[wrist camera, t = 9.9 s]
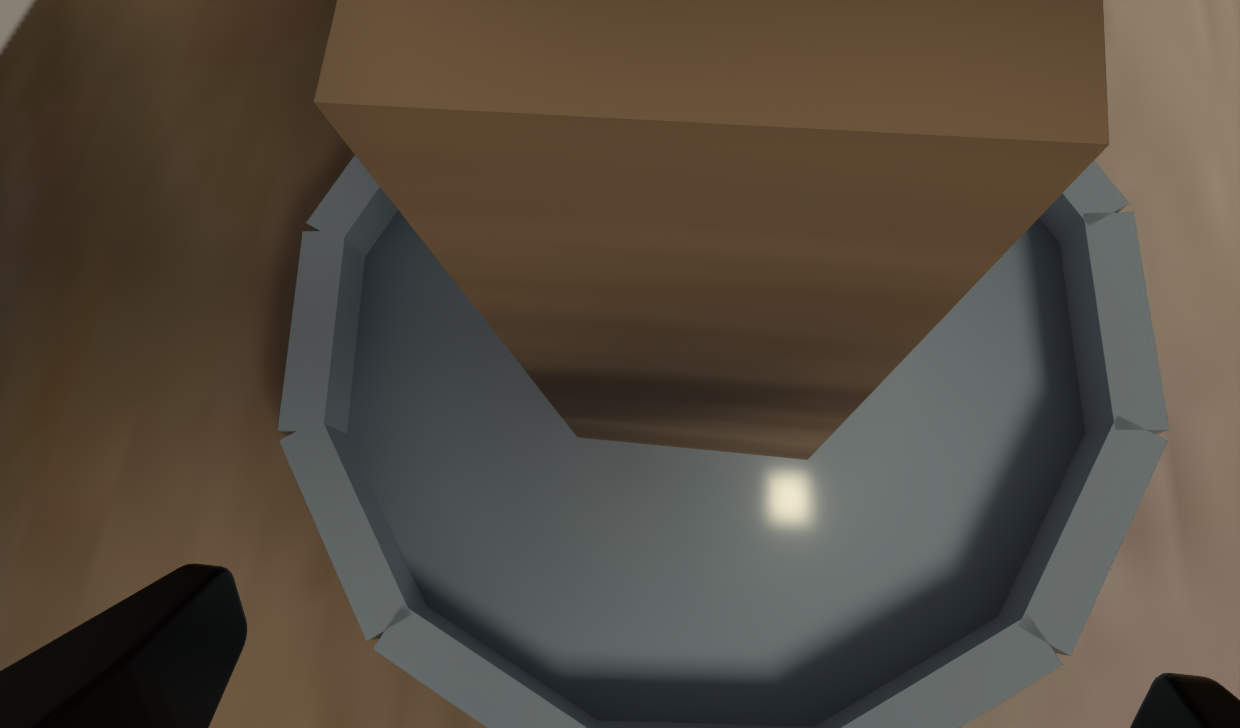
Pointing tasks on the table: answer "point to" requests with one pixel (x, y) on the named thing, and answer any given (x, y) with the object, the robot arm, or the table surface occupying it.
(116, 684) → the robot arm
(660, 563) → the ceramic dish
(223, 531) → the table surface
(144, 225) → the table surface
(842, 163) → the walnut block
